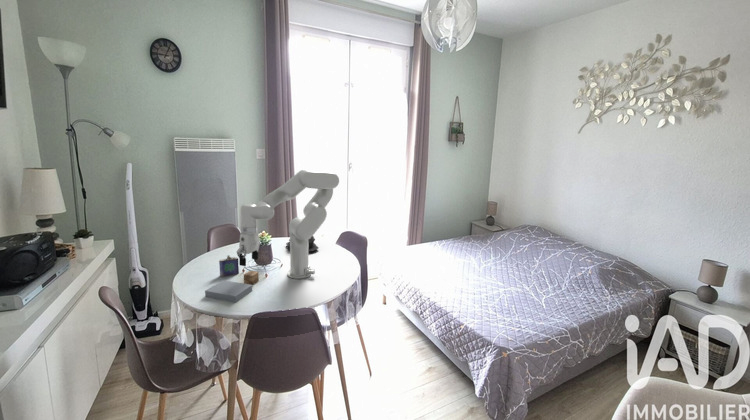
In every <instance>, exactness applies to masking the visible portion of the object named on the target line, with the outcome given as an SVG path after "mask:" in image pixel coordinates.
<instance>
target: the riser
mask: <svg viewBox="0 0 750 420" xmlns="http://www.w3.org/2000/svg"><path fill="white" fill-rule="evenodd" d="M251 292H253V285H250V284H244V282H243V283H242V282H236V281H230V280H226V279H223V280H221V281H219V282H216V284H215V285H212V286H211V287H208V288H207V289H206V290H204V294H205V296H204V297H205V298H209V299H215V300H220V301H225V300H226V301H225V302H231V303H232V302H233V303H237V302H239V301H240V300H242V299H243V298H244V297H246V296H247V295H248V294H250V293H251Z"/></svg>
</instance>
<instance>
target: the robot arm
mask: <svg viewBox="0 0 750 420" xmlns="http://www.w3.org/2000/svg"><path fill="white" fill-rule="evenodd" d="M339 183H340V177H339V176H338V175H337V174H336V173H335V172H332V171H329V170H321V171H313V170H310V169H305V168H304V169H301V170H299V171H298V172H296V173H295V174H294V175H293V176H292V177H291V178H289V179H288V180H287V181H286V182H285V183H283V184H282V185H281V186H279V187H277V188H276V189H275V190H272V191H271V192H270V193H268V194H267V195H265V196H264V197H263V198H262V199H260V200H259V201H258V202H257V204H253V203H244V204H241V205H240V234H239V244H238V245H239V248H237V250H236V255H237V258H238V265H239V266H240V267H241V266H242V267H246V265H247V258H246V256H247V254H248V255H250V254H251V259H252V260H259V249H260V245H261V241H260V237H259V236H260V235H259V232H258V220H262V221H269V220H271V219H273V218H274V216H275V209H274V208H276V207H278V205H279V204H281V203H284V202H287V201H290V200H291V201H292V200H294V199H295V198H296V197H297V196H298V195H299V194H300V193H301V192H303V191H304V190H305V189H306V188H307V189H317V191H316V192H315V193H314V195H313V196H312V197H311V199H310V200H308V202H307V204H306V205H305V206H304V207H303V214H304V216H305V217H304V218H303V217H300V216H299V217H294V218H293V219H292V220H290V222H289V225H288V232H289V239H290V241H289V242H290V248H289V250H290V252H289V254H290V255H289V258H290V263H289V265H290V268H289V269H290V270H288V272H287V276H288V278H290V279H294V280H300V279H306V278H308V277H311V276H312V275H315V274H316V271H315V268H311V265H309V252H308V247H309V243H308V239H310V238H311V237H312V236H314V235H315V234H316V233H317V231H318V230H319V229H320V228H321V226H322V225H323V224H324V222H325V220H326V218H327V210H326V207H327V206H328V204H329V203H330V202H331V200H332V199H333V195H334V189H336V188H337V187H338V185H339Z"/></svg>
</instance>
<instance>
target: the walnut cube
mask: <svg viewBox="0 0 750 420" xmlns="http://www.w3.org/2000/svg"><path fill="white" fill-rule="evenodd" d="M259 277H260V276H259V271H253V270H248V271H247V272H245V273H244V274H243V284H249V285H252V286H254V285H255V284H256V283H259V281H260V280H259V279H260V278H259Z"/></svg>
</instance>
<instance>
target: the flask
mask: <svg viewBox="0 0 750 420" xmlns="http://www.w3.org/2000/svg"><path fill="white" fill-rule="evenodd" d="M218 263H219V276H220V277H222V278H223V277H224V278H225V277H230V276H237V275H239V274H240V266H239V257H238V256H237V257H236V256H233V257H231V256H230V255H229V254H228V255H226V258H222V259H219V261H218Z"/></svg>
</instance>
